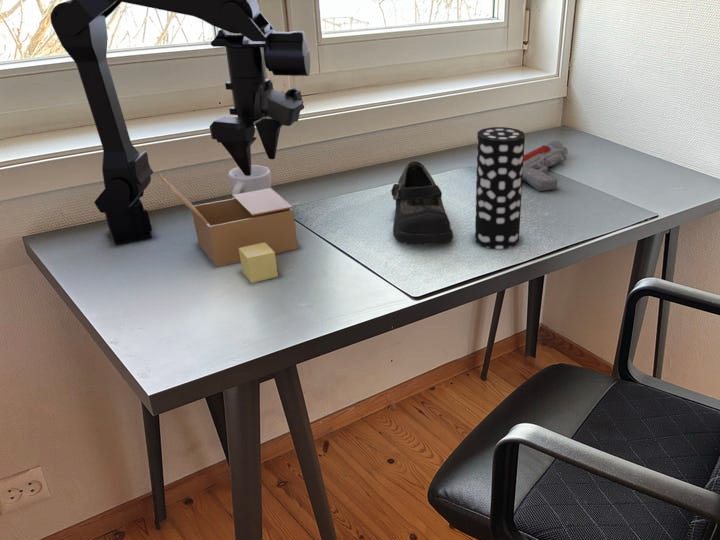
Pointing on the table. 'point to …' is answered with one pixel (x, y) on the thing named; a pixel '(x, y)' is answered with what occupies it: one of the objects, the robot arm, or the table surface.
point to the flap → (182, 198)
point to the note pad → (258, 262)
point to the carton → (245, 225)
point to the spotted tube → (499, 186)
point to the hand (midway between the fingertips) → (260, 166)
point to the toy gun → (542, 165)
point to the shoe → (419, 208)
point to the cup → (250, 179)
